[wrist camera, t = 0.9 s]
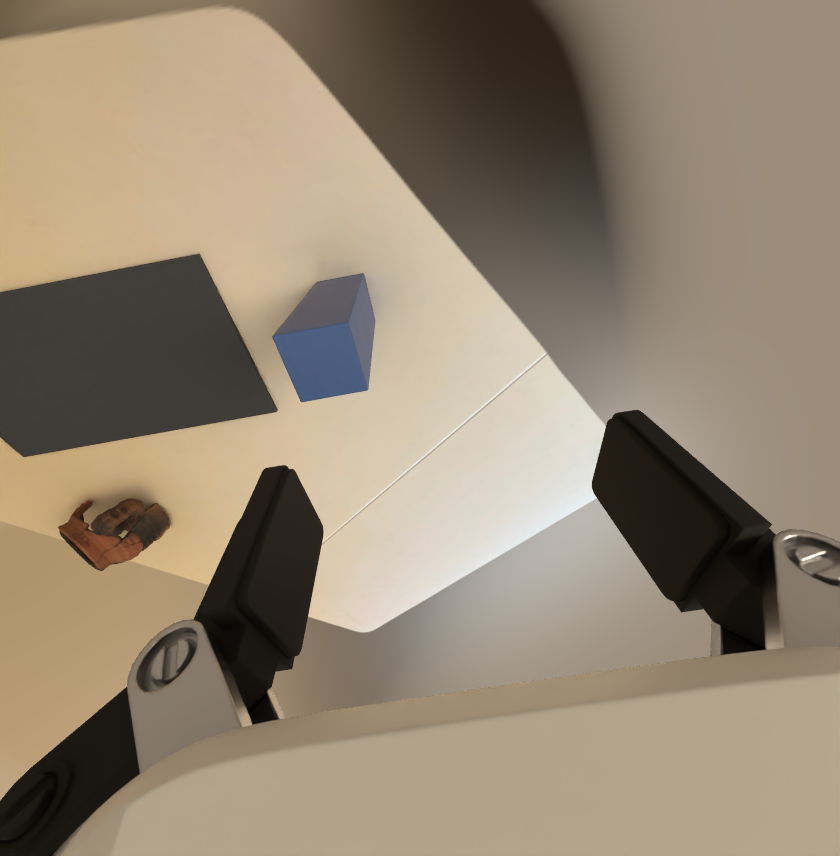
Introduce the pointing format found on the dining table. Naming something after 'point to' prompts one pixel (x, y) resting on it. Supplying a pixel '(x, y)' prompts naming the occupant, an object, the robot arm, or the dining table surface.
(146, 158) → the dining table surface
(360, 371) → the blue post
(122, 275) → the rubber mat
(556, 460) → the dining table surface
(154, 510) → the brown broken pot
